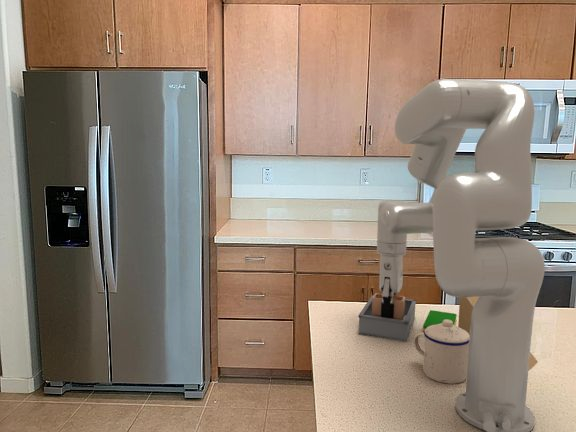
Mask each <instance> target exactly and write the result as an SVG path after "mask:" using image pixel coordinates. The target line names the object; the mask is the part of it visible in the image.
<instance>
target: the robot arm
mask: <svg viewBox="0 0 576 432" xmlns="http://www.w3.org/2000/svg"><path fill="white" fill-rule="evenodd" d="M534 120H535V103H534V100H533V97H532V95H531V94H530V92H529V91H528V90H527V89H526V88H525V87H523V86H522V85H519V84H518V83H512V82H507V81H500V80H499V81H498V80H482V79H474V80H473V79H456V78H441V79H437V80H434V81H432V82H430V83H428V84H426V85H425V86H424V87H423V88H421V90H419V91H418V92H417V93H415V94H414V95H413V96H411V97H410V98H409V99H408V100H407V101H406V102H404V104H403V106H401V108H400V109H399V111H398V114H397V116H396V119H395V123H394V133H395V137H396V139H397V140H398V142H399V143H402V144H404V145H414V147H413V150H412V152H411V154H410V157H409V160H408V162H407V169H408V170H407V171H408V172H409V174H410V175H411V176H412V177H413V178H414V179H415V180H417V181H418V182H421V183H423V184H424V185H426V186H429V187H431V188H433V192H432V195H431V197H430V199H429V201H428V202H405V201H403V200H389V199H388V200H382V201H380V203H379V204H378V209H377V230H376V231H377V233H376V234H377V237H376V253H377V254H378V255H380V262H379V277H378V278H379V280H378V283H379V284H378V288H379V291H380V292H381V294H382V303H381V317H383V318H391V319H393V317H394V304H393V295H396V296H398V294H399V293H400V292H401V290H402V287H403V277H404V276H403V275H404V273H403V272H404V270H403V269H404V268H403V267H404V265H403V263H404V262H403V261H404V256H405V255H406V254H407V242H408V241H407V240H408V239H407V238H408V235H410V234H411V235H412V234H432V237H433V264H434V266H433V267H434V274H435V279H436V281H437V284H438V286H439V287H440V289H441V290H442V291H443V292H444V293H445V294H447V295H448V296H451V297H455V298H460V297H478V296H479V297H478V299H477V301H476V303H475V305H474V308H473V310H472V314H471V324H470V337H469V351H468V366H467V378H466V380H465V382H466V383H465V384H466V386H465V391H463V392H462V393H460V394H459V395H458V396H457V397H456V399H455V409H456V411H457V413H458V414H459V416H460V417H461V418H462V419H463V420H464V421H465V422H467V423H469V424H470V425H472V426H474V427H476V428H477V429H479V430H482V431H485V432H530V431H532V430H533V428H534V427H535V420H536V419H535V415H534V413H533V411H532V410H531V409H530V408H529V407H528V406H527V405H526V403H527V391H528V380H529V379H528V378H529V371H528V369H529V357H530V352H531V345H532V336H533V335H532V334H533V323H534V314H535V310H536V304H537V300H538V297H539V294H540V290H541V287H542V284H543V280H544V277H545V272H546V271H545V269H546V266H545V265H546V264H545V259H544V257H543V254H542V252H541V251H540V249H539V248H538V247H537V246H536V245H535V244H534V243H532V242H530V241H528V240H526V239H524V238H520V237H519V238H518V237H508V236H507V237H483V238H476V232H477V231H493V230H494V231H496V230H507V229H515V228H518V227H522V226H524V225H525V224H526V223H527V222H528V220H529V219H530V217H531V214H532V208H533V207H532V205H533V204H532V202H533V197H532V196H533V190H532V189H533V188H532V187H533V186H532V184H533V183H532V155H531V154H532V153H531V141H532V134H533V128H534V127H533V126H534ZM467 129H468V130H469V129H474V130H478V129H480V130H483V132H482V134H481V135H480V136H479V139H478V140H477V143H476V146H475V148H474V172H458V173H452V174H450V175H448V176H447V172H448V171H449V169H450V167H451V164H452V162H453V159H454V157H455V155H456V153H457V151H458V149H459V147H460V144H461V141H462V139H463V137H464V134H465V133H466V130H467ZM389 295H391V297H390V296H389Z"/></svg>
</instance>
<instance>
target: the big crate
mask: <svg viewBox="0 0 576 432" xmlns="http://www.w3.org/2000/svg"><path fill="white" fill-rule="evenodd" d="M374 295H375V294H372V295H371V296H370V298H369V299H368V301H367V302H366V304H365V305H364V306H363V308H362V309H361V311H360V312H359V313H358V316H357V318H358V335H361V336H367V337H372V338H378V339H379V338H380V339H386V340H391V341H399V342H405V343H408V340H409V337H410V333H411V330H412V327H413V325H414V321H415V317H416V304H417V300H416V299H408V298H405V315H404V317H403V320H398V319H391V318H383V317H376V316H372V298H373V296H374Z"/></svg>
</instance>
